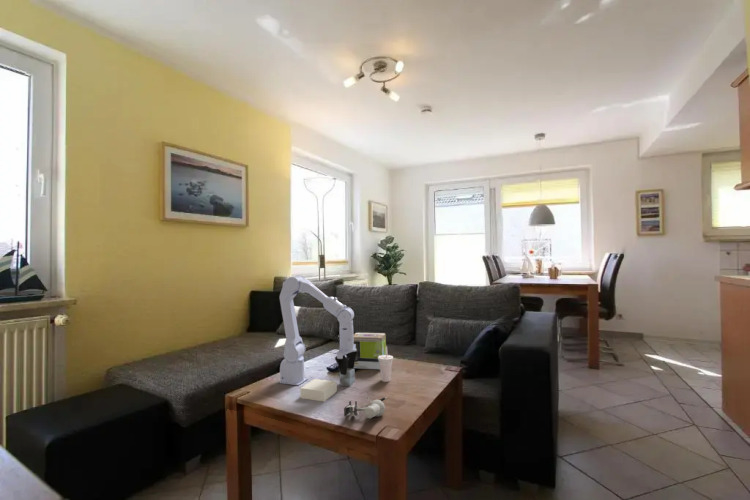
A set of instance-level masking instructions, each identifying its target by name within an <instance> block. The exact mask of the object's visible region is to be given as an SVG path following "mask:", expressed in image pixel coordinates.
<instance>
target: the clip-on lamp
mask: <svg viewBox="0 0 750 500" xmlns="http://www.w3.org/2000/svg"><path fill="white" fill-rule="evenodd" d="M364 395H365V396H366V398H367V399H368V401H369V405H368V404H367V403H364V405H363V407H358V402H357V401H358V400H355V404H353V405H352V400H350V401H348V404H347V405H346V406H345V407H344V408H343V415H344V417H347V416H353V417H354V418H355V419H356V420H360V414H361V413H362V412H364V413H363V414H364V416H365V417H366V418H367V419H372V418H373V417H375V418H376V417H381V416H383V414H384V412H385V410H386V406H385V403H384V401H385V400H386V399H388V397H386V396H385V397H381V399H373V400H371V398H370V397H369V395H368V394H367V393H366V392H364ZM358 411H359V412H358Z"/></svg>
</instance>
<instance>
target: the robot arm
mask: <svg viewBox="0 0 750 500" xmlns="http://www.w3.org/2000/svg"><path fill="white" fill-rule="evenodd" d="M298 293H307V294H308V295H310V296H312V297H313V298H315V299H317V300H318V301H319V302H320V303H321V304H322V305H323V308H324V309H325V310H326V311H327V312H329V313H330V314H331V315H333V316H334V317H335V318H336V319H337V322H339V327H338V328H339V331H338V332H339V349H338V352H337V353H336V356H335V357H334V361H335V362H336V364H337V366H338V369H339V374H340V373H341V375H346V373H347V368H350V369H355V368H354V364H355V359H356V356H357V354H358V350H357V349H356V344H354V320H353V319H354V317H355V312H354V310H353V309H352V308H351V307H349V306H347V305H346V304H343V303H342V302H340V301H339V300H338V297H336V296H328V295H327V294H325V293H324V292H323V291H321V290H320V289H319V288H318V287H317V286H315V284H313V283H312V282H311V281H310V280H309V279H308V278H305V277H304V276H303V275H296V276H290V277H287V278H286V279H285V280H284V281H283V282H282V288H281V291H280V293H279V303H280V311H281V315H282V321H283V325H284V326H283V327H284V334H285V338H286V339H285V343H284V350H283V358H284V359H283V360H281V363H280V365H279V366H280V367H279V379H280V380H279V384H283V385H293V386H300V385H302V384H303V383H304V382H306V381H307V380H309V377H306V376H305V358H304V354H305V353H306V344H305V343H304V342H303V338H302V337H301V335H300V332H299V327H298V321H297V316H296V309H295V303H294V298H295V297H296V296H297V294H298Z"/></svg>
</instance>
